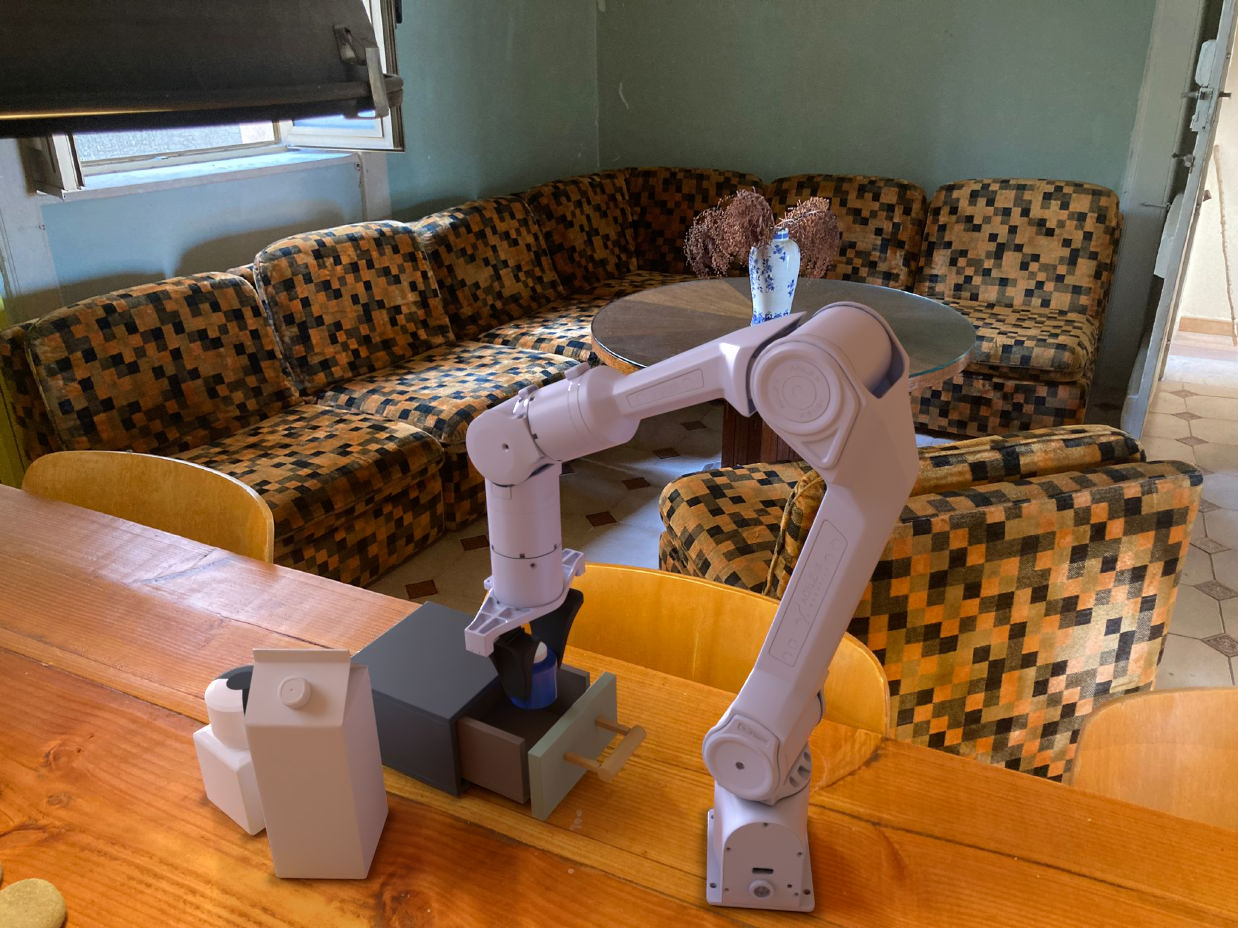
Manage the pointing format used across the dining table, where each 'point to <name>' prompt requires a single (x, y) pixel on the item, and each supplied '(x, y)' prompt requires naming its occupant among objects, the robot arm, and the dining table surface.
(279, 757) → the milk carton
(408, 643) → the cabinet
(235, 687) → the medicine bottle
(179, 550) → the dining table surface
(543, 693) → the spice bottle
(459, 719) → the drawer
